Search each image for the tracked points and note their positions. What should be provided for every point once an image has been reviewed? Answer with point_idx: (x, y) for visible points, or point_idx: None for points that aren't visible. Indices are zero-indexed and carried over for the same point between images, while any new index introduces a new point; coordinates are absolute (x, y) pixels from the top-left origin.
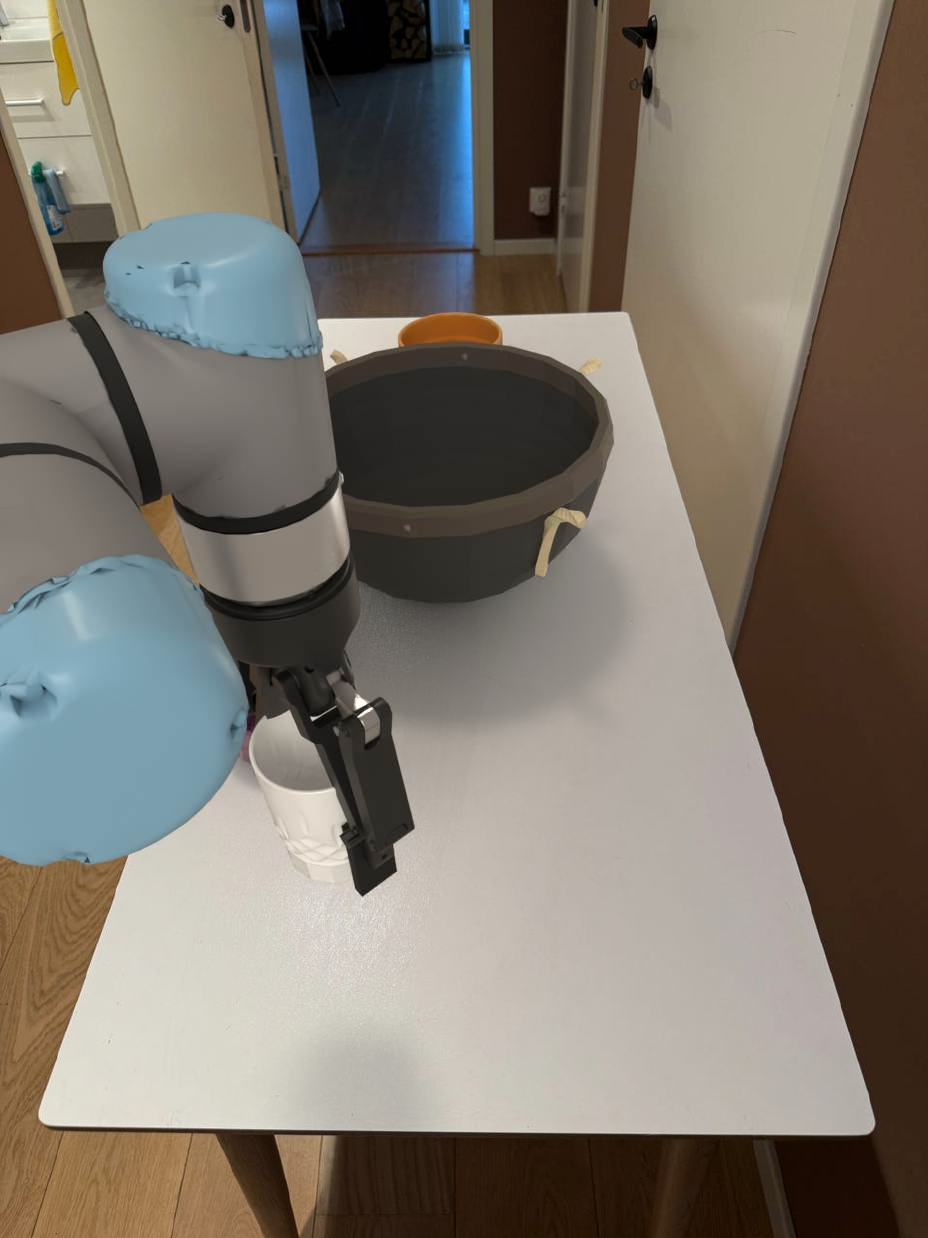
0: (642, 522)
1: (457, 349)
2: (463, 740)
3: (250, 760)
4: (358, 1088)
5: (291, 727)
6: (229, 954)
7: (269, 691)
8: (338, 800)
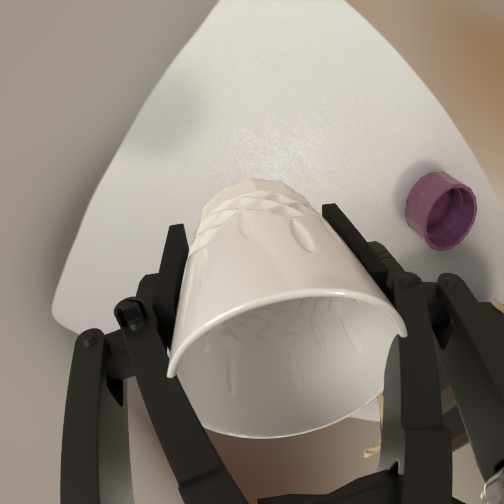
0: (371, 409)
1: None
2: None
3: (430, 175)
4: (162, 114)
5: (373, 324)
6: (309, 80)
7: (399, 442)
8: (165, 354)
